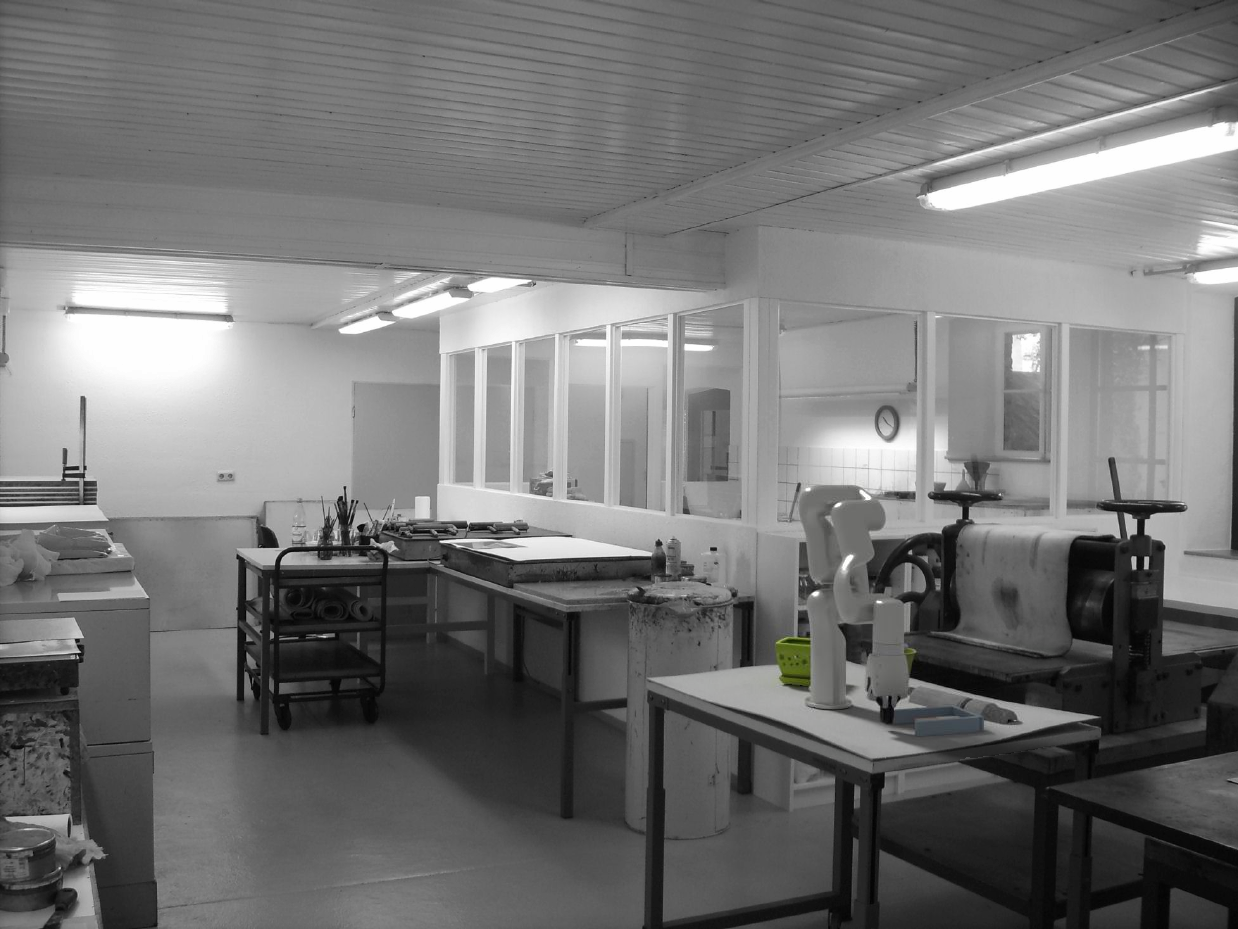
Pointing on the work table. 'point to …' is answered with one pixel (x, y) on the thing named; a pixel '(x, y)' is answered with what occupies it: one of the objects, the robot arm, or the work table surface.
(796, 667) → the flower pot
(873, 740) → the work table surface
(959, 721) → the box
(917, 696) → the mechanical component
